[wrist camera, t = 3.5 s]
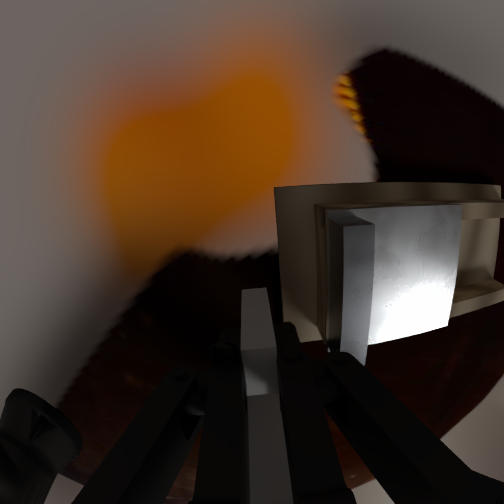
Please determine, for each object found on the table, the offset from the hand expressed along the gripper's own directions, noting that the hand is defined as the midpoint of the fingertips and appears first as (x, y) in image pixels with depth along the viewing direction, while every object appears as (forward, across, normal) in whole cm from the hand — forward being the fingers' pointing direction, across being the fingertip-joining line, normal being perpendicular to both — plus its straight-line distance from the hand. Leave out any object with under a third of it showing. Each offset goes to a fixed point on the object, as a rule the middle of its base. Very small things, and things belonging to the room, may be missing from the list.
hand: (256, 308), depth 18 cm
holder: (+7, +15, 0) cm, 17 cm away
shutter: (+3, +11, 0) cm, 12 cm away
